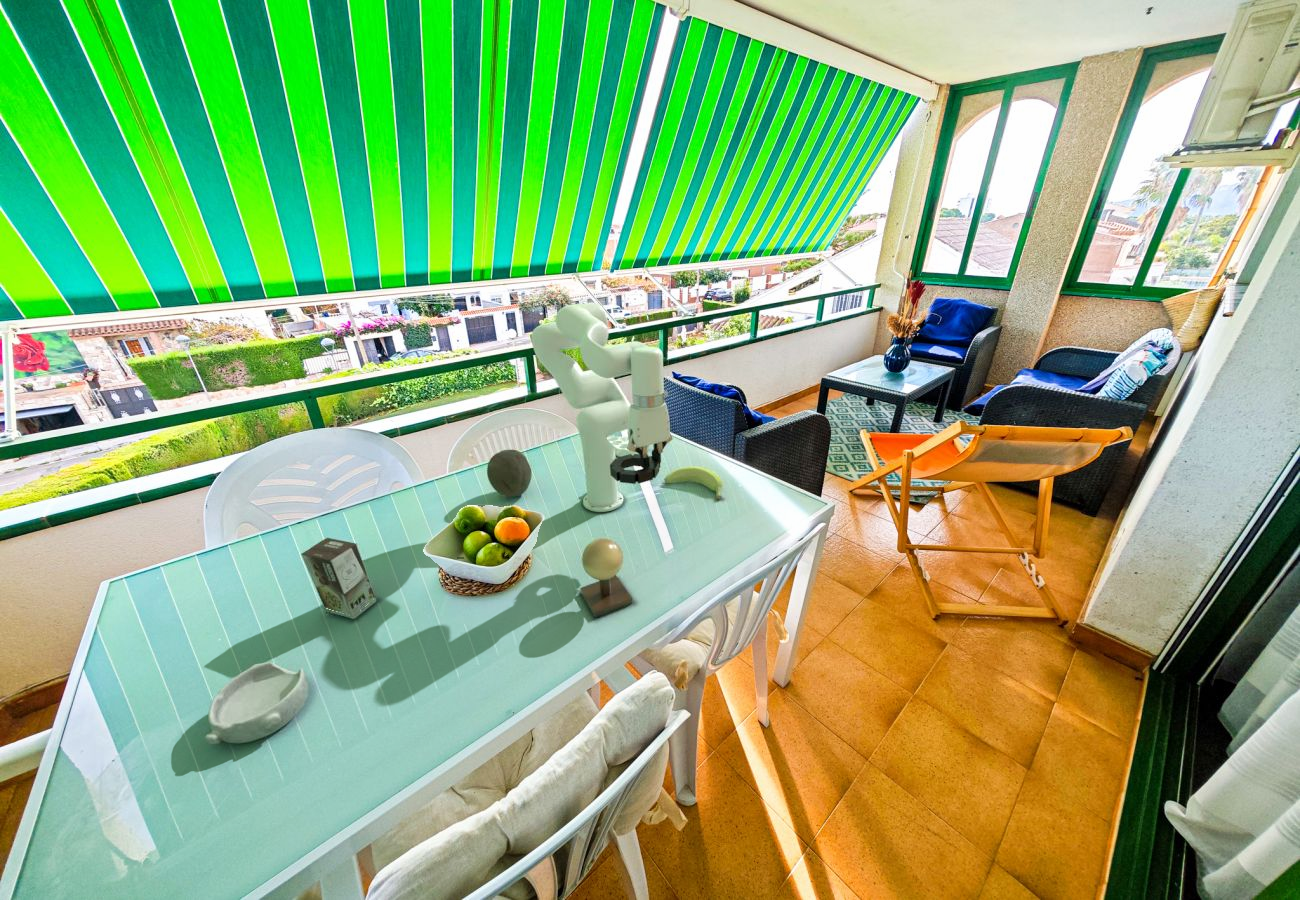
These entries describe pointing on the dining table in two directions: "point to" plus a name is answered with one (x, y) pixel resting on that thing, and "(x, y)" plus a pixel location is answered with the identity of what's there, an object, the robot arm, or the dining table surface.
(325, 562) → the coffee box
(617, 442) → the white disc with holes
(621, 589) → the ball stand
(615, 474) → the ring
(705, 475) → the banana
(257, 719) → the dish
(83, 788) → the dining table surface
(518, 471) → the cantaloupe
